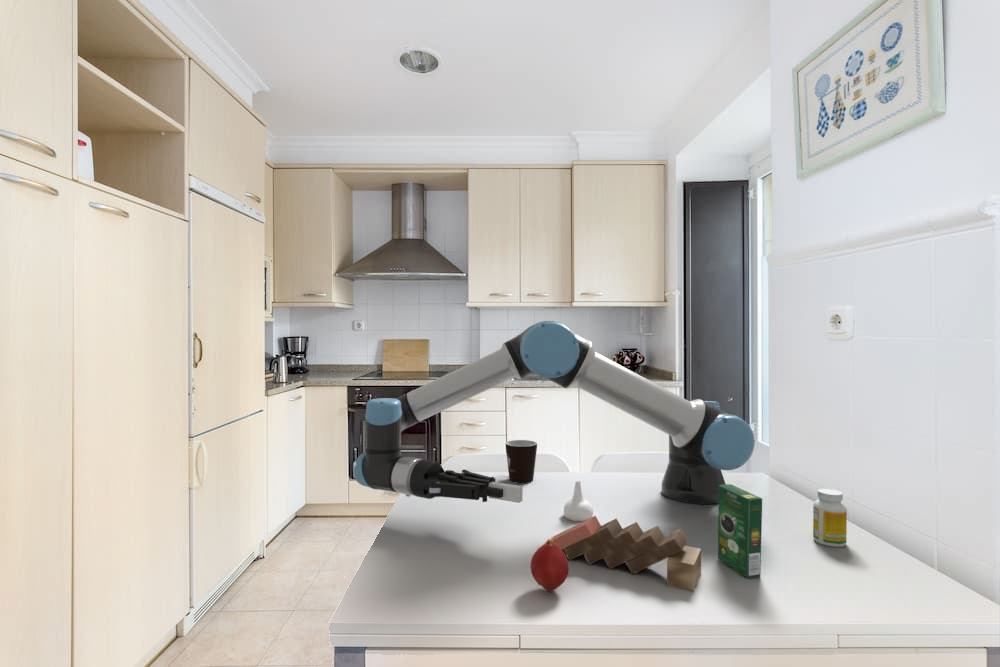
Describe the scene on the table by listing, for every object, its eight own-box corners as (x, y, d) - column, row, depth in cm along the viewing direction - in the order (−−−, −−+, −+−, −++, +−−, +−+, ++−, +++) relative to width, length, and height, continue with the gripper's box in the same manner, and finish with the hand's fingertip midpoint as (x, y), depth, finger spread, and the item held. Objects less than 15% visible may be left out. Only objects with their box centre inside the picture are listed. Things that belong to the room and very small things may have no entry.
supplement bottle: (806, 539, 102) (806, 489, 102) (824, 535, 104) (824, 486, 104) (835, 549, 97) (835, 497, 97) (853, 545, 99) (853, 493, 99)
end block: (667, 585, 83) (667, 559, 83) (675, 568, 89) (675, 544, 89) (693, 591, 81) (693, 564, 81) (701, 573, 87) (701, 548, 87)
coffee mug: (535, 485, 138) (535, 447, 138) (502, 483, 140) (502, 445, 140) (540, 474, 150) (540, 438, 150) (510, 472, 151) (510, 437, 151)
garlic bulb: (576, 513, 119) (573, 476, 119) (599, 517, 114) (596, 479, 115) (558, 519, 114) (555, 482, 115) (581, 524, 110) (579, 485, 110)
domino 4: (603, 558, 89) (650, 535, 85) (612, 547, 94) (657, 525, 90) (609, 569, 89) (657, 546, 85) (618, 558, 93) (664, 536, 89)
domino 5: (625, 563, 87) (674, 538, 84) (633, 552, 92) (680, 528, 88) (632, 574, 87) (681, 550, 83) (640, 563, 91) (687, 539, 87)
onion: (528, 582, 84) (528, 532, 84) (564, 581, 84) (564, 531, 84) (533, 601, 78) (533, 546, 78) (572, 599, 79) (572, 545, 79)
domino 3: (583, 553, 91) (628, 531, 87) (592, 543, 95) (636, 521, 92) (589, 564, 90) (635, 542, 87) (598, 554, 95) (643, 532, 91)
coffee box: (763, 578, 86) (763, 496, 86) (748, 580, 85) (748, 498, 85) (731, 557, 93) (731, 483, 93) (716, 559, 93) (716, 484, 93)
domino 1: (542, 545, 95) (585, 524, 91) (554, 536, 99) (595, 515, 95) (548, 555, 94) (591, 535, 90) (559, 546, 99) (601, 526, 95)
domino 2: (563, 549, 93) (607, 527, 89) (573, 540, 97) (616, 518, 93) (569, 560, 92) (613, 538, 88) (579, 550, 97) (622, 528, 93)
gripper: (437, 487, 116) (535, 505, 105) (398, 504, 105) (504, 525, 94) (437, 453, 116) (535, 467, 105) (399, 466, 105) (504, 482, 94)
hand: (520, 494), depth 99 cm, fingers closed
